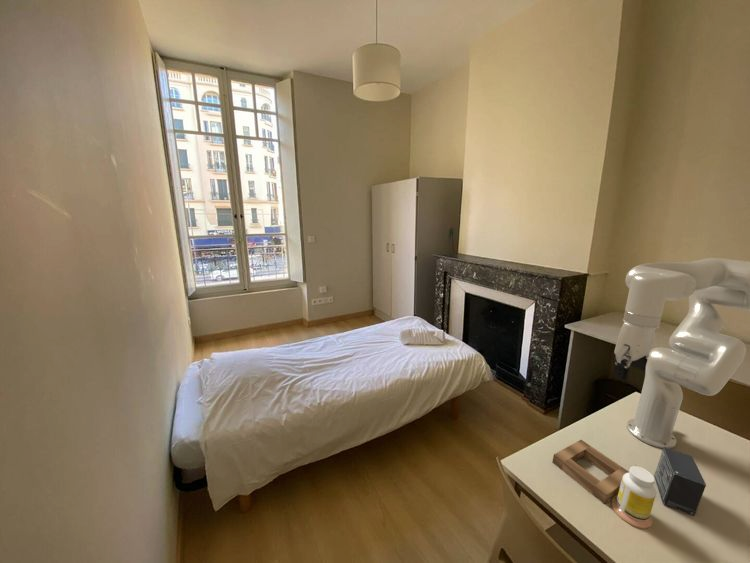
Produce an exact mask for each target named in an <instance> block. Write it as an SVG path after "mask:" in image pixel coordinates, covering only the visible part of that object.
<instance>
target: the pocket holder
mask: <svg viewBox="0 0 750 563" xmlns="http://www.w3.org/2000/svg"><path fill="white" fill-rule="evenodd" d="M581 459H585V460H586V461H588V462H589V463H591V464H592V465H593V466H595V467H596V468H597V469H599V470H600V471H602V472H603V473H605V474H606V475H607V477H605V478H604V479H602V480H600V479H598V478H597V477H595V476H594V475H593V474H592V473H590V472H589V471H587V470H586V469H585V468H583V467H582V466H581V465H580V464H578V463H577V462H578V461H580V460H581ZM552 464H554V465H555V466H556V467H557V468H559V469H560V470H561V471H563V473H564V474H566V475H567V476H569V477H570V478H571V479H572V480H574V481H575V482H576V483H577V484H578V485H580V487H582V488H583V489H585V490H586V491H587V492H588V493H590V494H591V495H592V496H593V497H595V498H596V499H597V500H599V501H600V502H601V503H602V504H604V505H605V504H607V502H609V501H611V500H612V499H613V497H615V496H618V493H619V489H620V485H621V481H622V478H623V475H624V474H626V473H629V470H627V469H626V468H624V467H623V466H621V465H620V464H618V463H616V462H615V461H613V460H612V459H610V457H607V455H605V454H603V453H602V452H600V451H599V450H597V449H596V448H595V447H593V446H591V445H590V444H588V443H587V442H586V441H584V440H582V439H579V440H578V441H576V442H574V443H572V444H570V445H568V446H567V447H564V448H563V449H561V450H559V451H557V452H556V453H554V454H553V457H552Z"/></svg>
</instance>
